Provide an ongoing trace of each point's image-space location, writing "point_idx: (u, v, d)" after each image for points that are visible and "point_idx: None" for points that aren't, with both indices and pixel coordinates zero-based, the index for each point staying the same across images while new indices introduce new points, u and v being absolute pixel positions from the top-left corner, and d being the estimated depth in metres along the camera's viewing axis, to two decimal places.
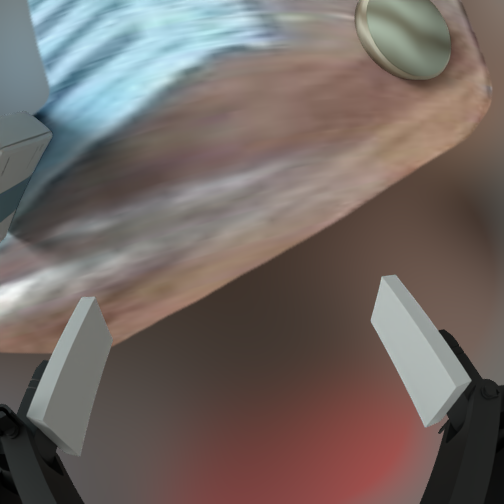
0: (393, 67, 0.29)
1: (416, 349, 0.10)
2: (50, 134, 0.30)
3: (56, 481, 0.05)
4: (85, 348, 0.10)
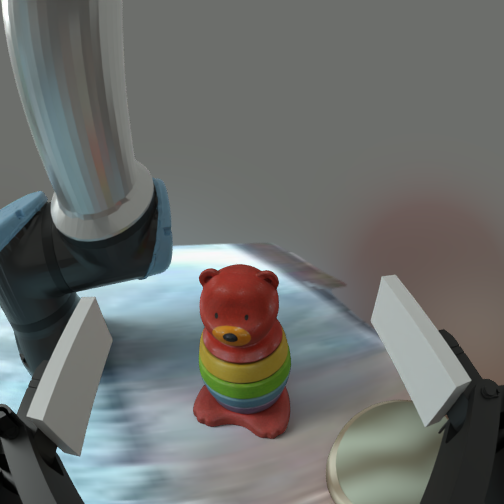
0: None
1: (416, 349, 0.10)
2: None
3: (56, 481, 0.05)
4: (85, 348, 0.10)
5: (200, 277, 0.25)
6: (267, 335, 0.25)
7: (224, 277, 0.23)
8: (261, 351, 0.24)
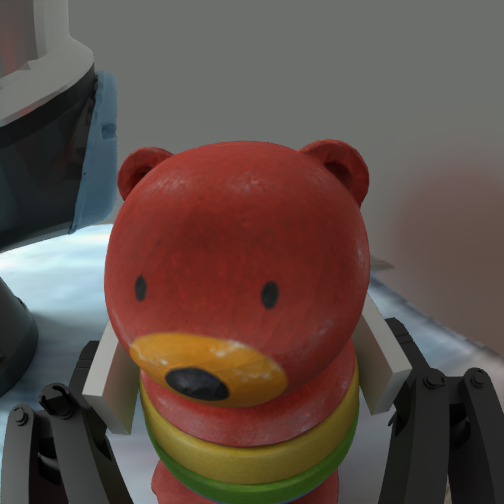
0: None
1: (361, 335, 0.11)
2: None
3: (105, 467, 0.06)
4: None
5: (120, 176, 0.07)
6: None
7: (185, 154, 0.06)
8: (309, 410, 0.07)
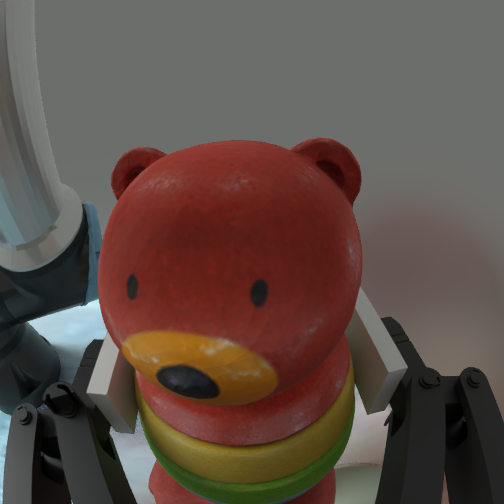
0: None
1: (357, 334, 0.11)
2: None
3: (109, 466, 0.06)
4: None
5: (114, 176, 0.07)
6: None
7: (177, 153, 0.06)
8: (302, 409, 0.07)
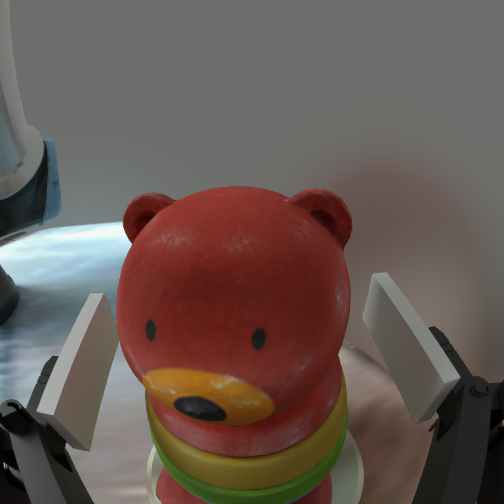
0: None
1: (405, 346, 0.10)
2: None
3: (65, 478, 0.05)
4: (94, 343, 0.10)
5: (125, 218, 0.08)
6: None
7: (185, 206, 0.07)
8: (297, 426, 0.08)
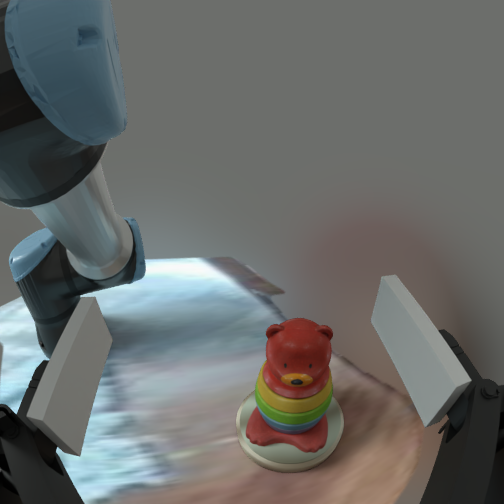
0: (282, 465, 0.30)
1: (416, 349, 0.10)
2: None
3: (56, 481, 0.05)
4: (85, 348, 0.10)
5: (267, 332, 0.28)
6: None
7: (290, 333, 0.27)
8: (316, 388, 0.28)
